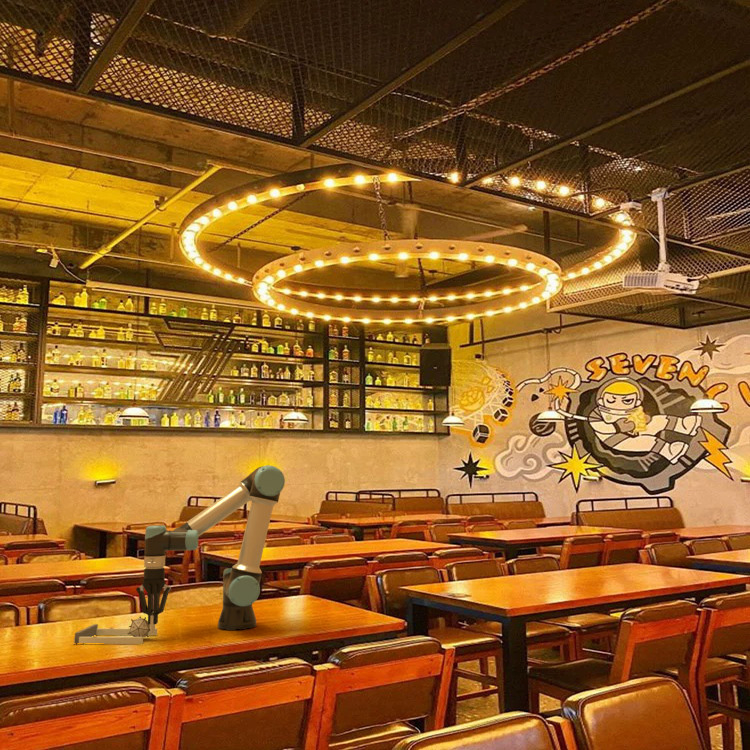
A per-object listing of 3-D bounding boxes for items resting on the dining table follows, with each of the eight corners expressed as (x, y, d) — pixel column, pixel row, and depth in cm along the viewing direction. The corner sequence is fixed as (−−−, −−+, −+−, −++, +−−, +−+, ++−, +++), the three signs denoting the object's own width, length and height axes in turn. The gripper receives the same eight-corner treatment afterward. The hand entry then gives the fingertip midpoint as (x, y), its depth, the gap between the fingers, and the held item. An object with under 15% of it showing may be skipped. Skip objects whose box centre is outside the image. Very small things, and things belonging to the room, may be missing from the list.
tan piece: (157, 635, 282) (157, 624, 283) (141, 644, 266) (142, 633, 267) (92, 635, 283) (93, 624, 284) (73, 644, 267) (74, 633, 268)
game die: (137, 651, 272) (119, 632, 269) (140, 638, 280) (122, 620, 277) (157, 636, 272) (139, 618, 269) (159, 623, 280) (142, 605, 277)
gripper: (134, 568, 274) (132, 635, 270) (167, 568, 273) (166, 635, 270) (141, 566, 281) (139, 631, 277) (174, 566, 281) (172, 631, 277)
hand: (152, 633), depth 273 cm, fingers closed
